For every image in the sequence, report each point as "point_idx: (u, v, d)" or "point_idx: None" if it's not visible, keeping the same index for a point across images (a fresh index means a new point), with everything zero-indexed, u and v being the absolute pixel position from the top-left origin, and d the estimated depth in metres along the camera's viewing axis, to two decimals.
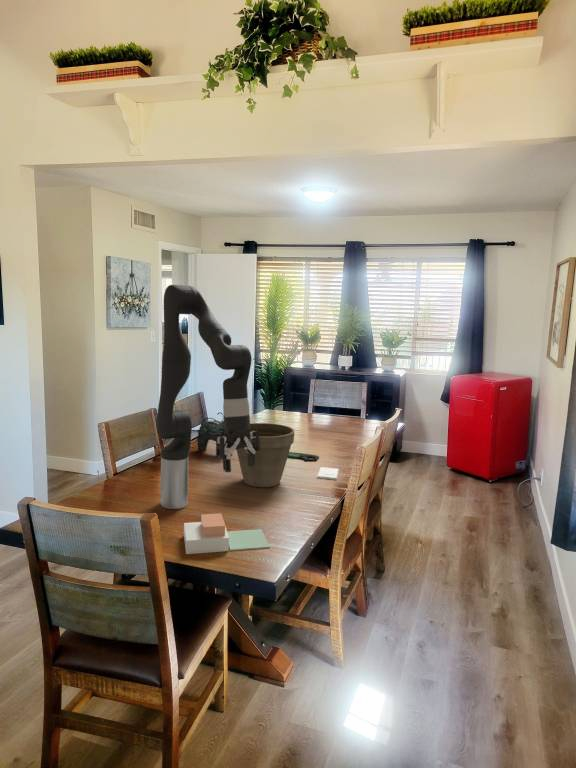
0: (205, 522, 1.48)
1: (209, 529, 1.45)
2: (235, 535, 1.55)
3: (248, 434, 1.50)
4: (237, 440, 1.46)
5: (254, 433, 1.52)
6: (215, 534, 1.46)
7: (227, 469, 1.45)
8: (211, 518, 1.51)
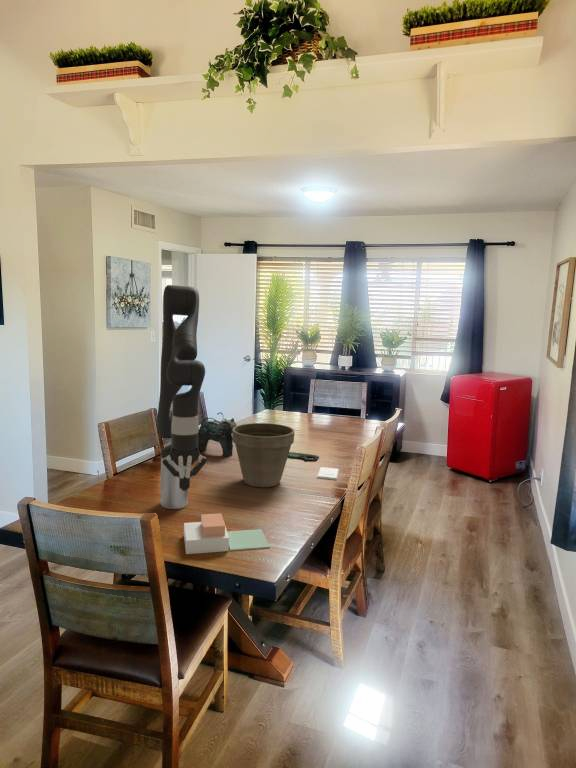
0: (205, 522, 1.48)
1: (209, 529, 1.45)
2: (235, 535, 1.55)
3: (196, 453, 1.45)
4: (179, 458, 1.43)
5: (203, 458, 1.46)
6: (215, 534, 1.46)
7: (181, 487, 1.45)
8: (211, 518, 1.51)
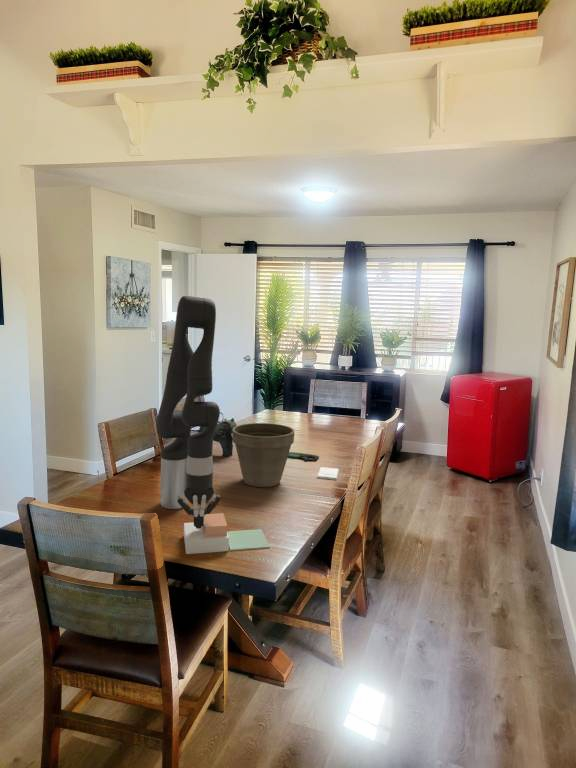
0: (207, 522, 1.48)
1: (212, 529, 1.46)
2: (235, 535, 1.55)
3: (210, 492, 1.47)
4: (194, 498, 1.45)
5: (217, 497, 1.48)
6: (217, 534, 1.46)
7: (195, 525, 1.48)
8: (213, 518, 1.51)
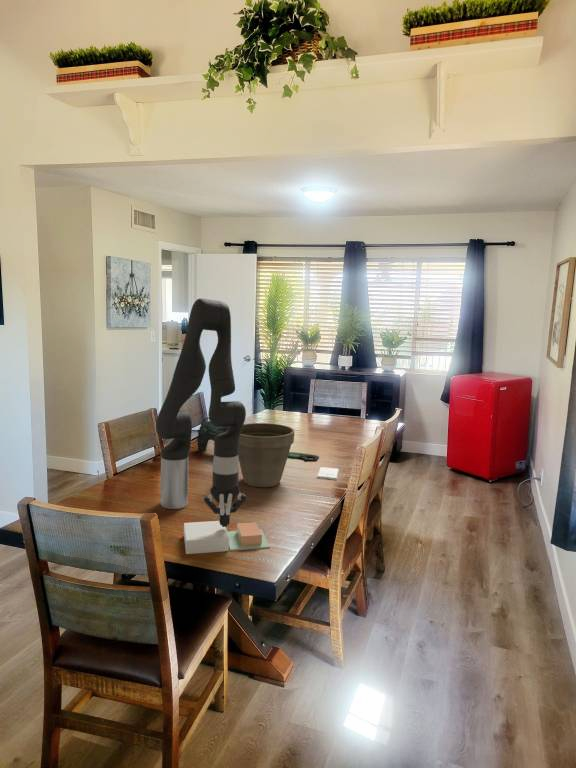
0: None
1: (256, 542, 1.50)
2: (235, 535, 1.55)
3: (236, 491, 1.49)
4: (220, 496, 1.47)
5: (242, 496, 1.50)
6: (250, 537, 1.49)
7: (221, 524, 1.50)
8: None
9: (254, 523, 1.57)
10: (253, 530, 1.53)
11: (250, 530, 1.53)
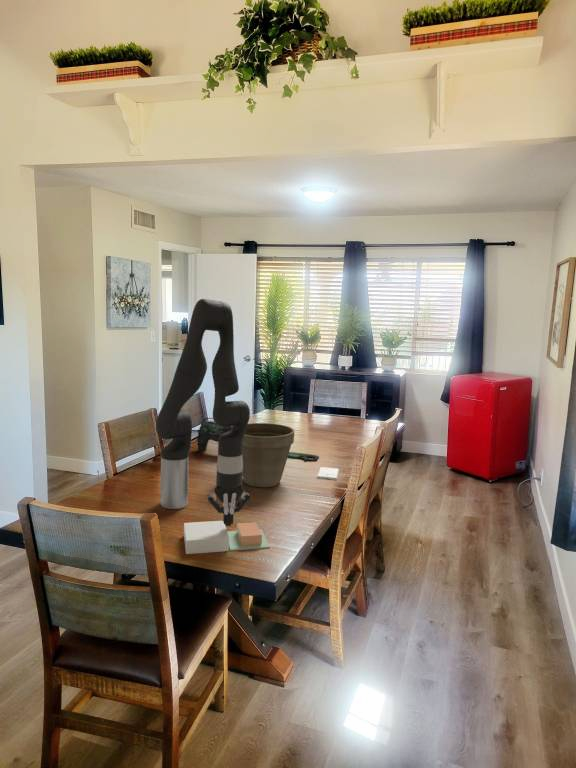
0: None
1: (256, 542, 1.50)
2: (235, 535, 1.55)
3: (240, 490, 1.50)
4: (224, 496, 1.48)
5: (246, 495, 1.51)
6: (250, 537, 1.49)
7: (225, 523, 1.50)
8: None
9: (254, 523, 1.57)
10: (253, 530, 1.53)
11: (250, 530, 1.53)
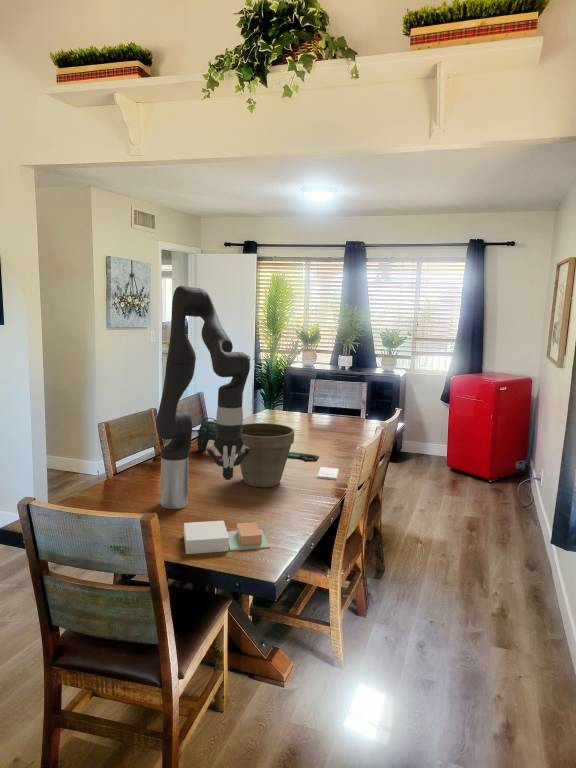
0: None
1: (256, 542, 1.50)
2: (235, 535, 1.55)
3: (240, 443, 1.48)
4: (224, 448, 1.46)
5: (246, 449, 1.49)
6: (250, 537, 1.49)
7: (224, 477, 1.48)
8: None
9: (254, 523, 1.57)
10: (253, 530, 1.53)
11: (250, 530, 1.53)
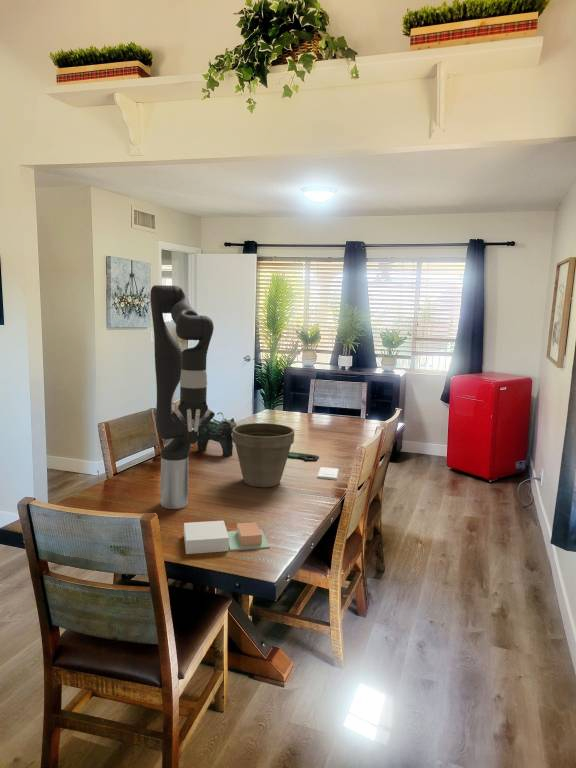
0: None
1: (256, 542, 1.50)
2: (235, 535, 1.55)
3: (204, 407, 1.48)
4: (188, 412, 1.46)
5: (210, 413, 1.49)
6: (250, 537, 1.49)
7: (189, 440, 1.49)
8: None
9: (254, 523, 1.57)
10: (253, 530, 1.53)
11: (250, 530, 1.53)
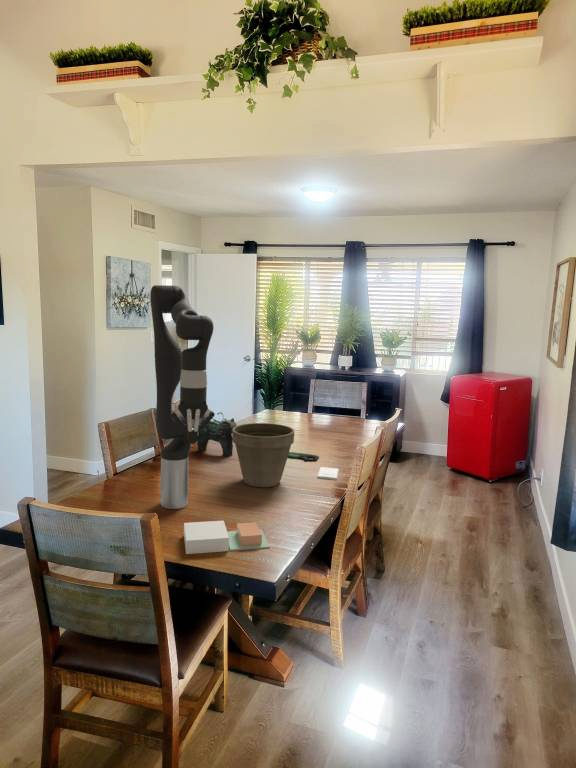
0: None
1: (256, 542, 1.50)
2: (235, 535, 1.55)
3: (204, 407, 1.48)
4: (188, 412, 1.46)
5: (210, 413, 1.49)
6: (250, 537, 1.49)
7: (189, 440, 1.49)
8: None
9: (254, 523, 1.57)
10: (253, 530, 1.53)
11: (250, 530, 1.53)
